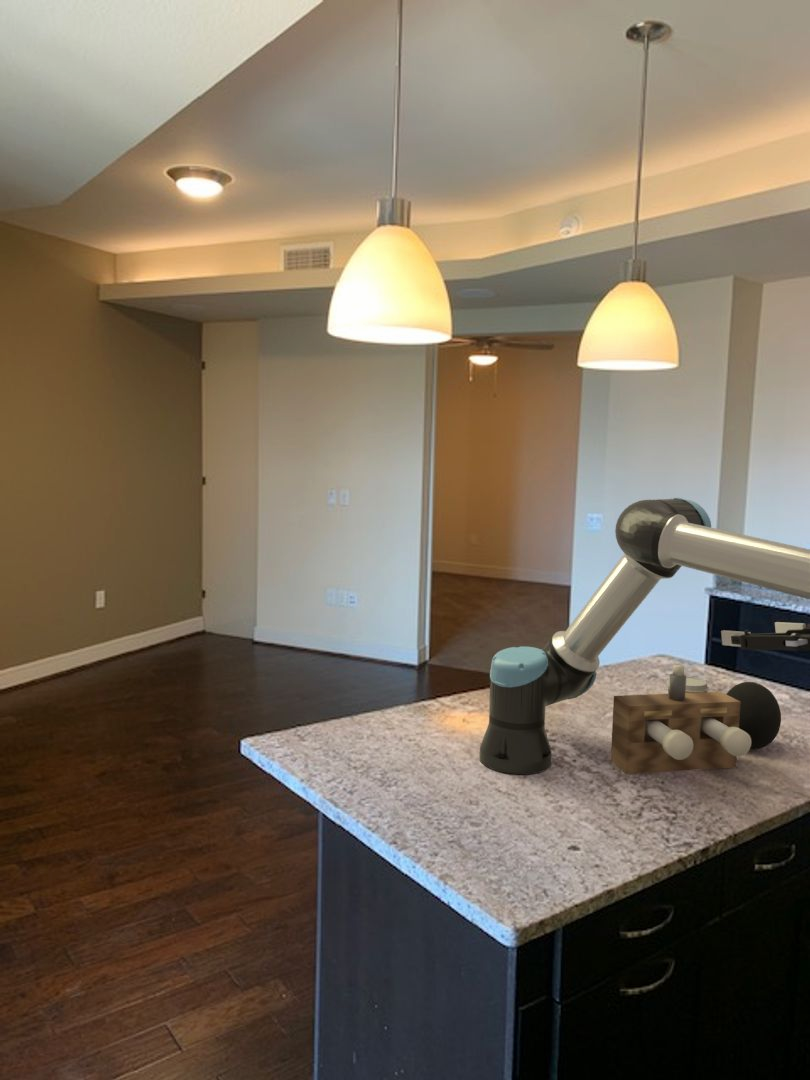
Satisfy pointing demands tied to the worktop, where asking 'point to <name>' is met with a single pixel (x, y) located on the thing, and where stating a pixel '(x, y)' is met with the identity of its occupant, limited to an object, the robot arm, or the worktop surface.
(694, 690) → the disposable coffee cup
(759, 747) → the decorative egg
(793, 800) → the worktop surface
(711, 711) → the mount
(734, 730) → the knob
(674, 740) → the knob
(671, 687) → the grey bottle
